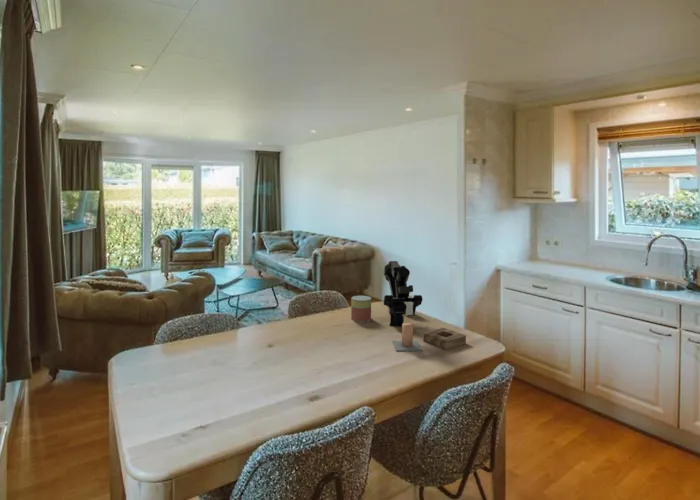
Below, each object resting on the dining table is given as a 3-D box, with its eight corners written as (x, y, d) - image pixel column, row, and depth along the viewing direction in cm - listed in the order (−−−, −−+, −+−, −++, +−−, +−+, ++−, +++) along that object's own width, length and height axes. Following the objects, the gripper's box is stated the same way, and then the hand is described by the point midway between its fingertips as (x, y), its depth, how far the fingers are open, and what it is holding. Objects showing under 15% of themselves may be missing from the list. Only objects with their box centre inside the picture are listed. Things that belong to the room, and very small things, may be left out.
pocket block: (423, 341, 203) (423, 333, 202) (442, 335, 212) (443, 327, 211) (446, 349, 192) (446, 341, 192) (465, 343, 201) (466, 335, 200)
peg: (399, 344, 196) (400, 323, 195) (407, 342, 199) (407, 321, 198) (407, 347, 193) (407, 326, 191) (414, 345, 196) (415, 324, 194)
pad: (392, 341, 202) (392, 340, 202) (417, 341, 202) (417, 340, 202) (396, 351, 190) (396, 350, 190) (422, 351, 190) (422, 349, 190)
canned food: (374, 317, 239) (375, 297, 238) (364, 323, 230) (364, 301, 228) (357, 314, 245) (357, 294, 244) (347, 319, 236) (347, 298, 234)
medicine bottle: (398, 312, 250) (399, 293, 248) (408, 311, 253) (409, 291, 251) (405, 316, 243) (405, 295, 242) (415, 314, 246) (416, 294, 245)
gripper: (384, 279, 207) (387, 307, 197) (422, 279, 208) (426, 307, 198) (382, 291, 216) (384, 318, 206) (418, 291, 216) (422, 318, 207)
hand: (404, 315), depth 204 cm, fingers open, 9 cm apart
